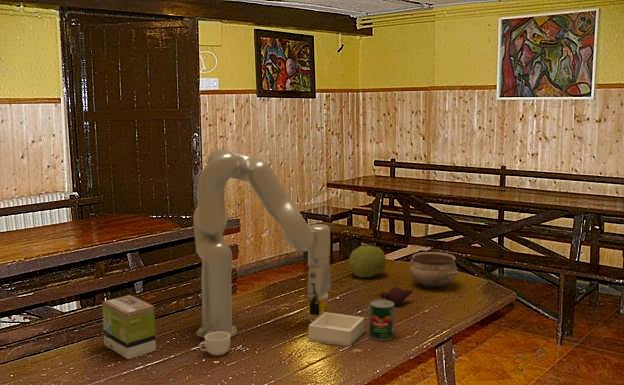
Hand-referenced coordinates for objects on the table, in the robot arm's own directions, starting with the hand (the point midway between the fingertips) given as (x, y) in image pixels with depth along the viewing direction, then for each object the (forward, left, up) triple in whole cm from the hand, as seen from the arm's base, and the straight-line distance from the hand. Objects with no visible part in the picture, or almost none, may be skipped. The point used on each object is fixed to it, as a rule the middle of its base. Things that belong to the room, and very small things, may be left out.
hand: (318, 310), depth 229 cm
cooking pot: (+57, -27, -4) cm, 63 cm away
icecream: (+28, -20, -4) cm, 35 cm away
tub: (-11, -11, -4) cm, 16 cm away
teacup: (-39, +18, -4) cm, 43 cm away
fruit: (+60, +2, -4) cm, 60 cm away
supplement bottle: (0, 0, -4) cm, 4 cm away
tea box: (-46, +44, -4) cm, 64 cm away
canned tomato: (-5, -24, -4) cm, 25 cm away
